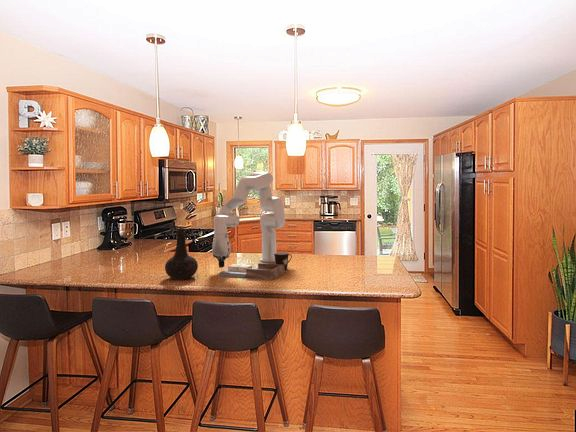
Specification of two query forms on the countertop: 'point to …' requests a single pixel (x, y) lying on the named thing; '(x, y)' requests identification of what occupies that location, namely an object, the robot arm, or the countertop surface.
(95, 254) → the countertop surface
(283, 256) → the coffee mug
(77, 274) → the countertop surface
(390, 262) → the countertop surface
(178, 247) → the dark bulbous vase
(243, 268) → the cream tile
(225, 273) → the slate plate
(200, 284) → the countertop surface
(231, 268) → the cream tile
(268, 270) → the box
